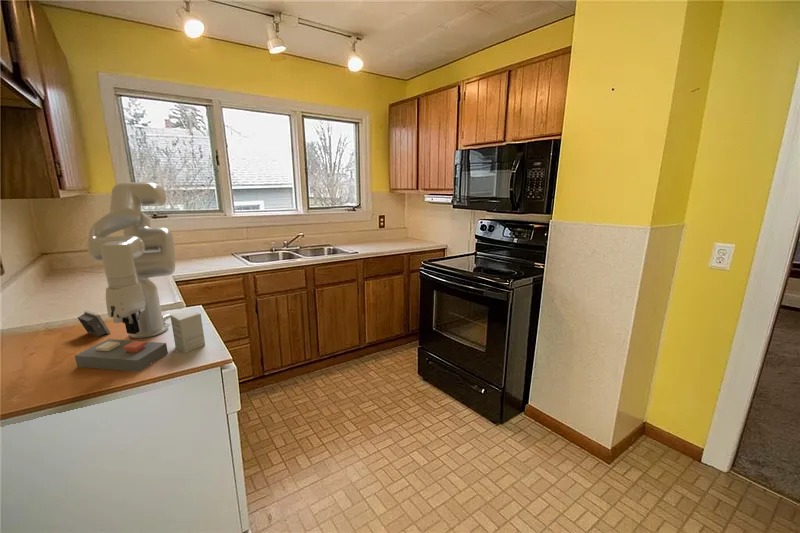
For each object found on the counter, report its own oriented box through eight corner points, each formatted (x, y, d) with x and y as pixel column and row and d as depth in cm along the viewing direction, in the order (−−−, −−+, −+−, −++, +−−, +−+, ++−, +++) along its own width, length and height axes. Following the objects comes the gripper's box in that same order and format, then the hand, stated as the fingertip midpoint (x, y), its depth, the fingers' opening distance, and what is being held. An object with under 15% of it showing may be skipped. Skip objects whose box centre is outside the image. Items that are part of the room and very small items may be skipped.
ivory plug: (110, 352, 121) (108, 341, 120) (121, 352, 120) (119, 342, 119) (98, 358, 116) (95, 347, 115) (110, 359, 116) (107, 348, 115)
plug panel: (110, 349, 125) (108, 338, 124) (167, 353, 123) (166, 342, 122) (77, 366, 113) (74, 355, 112) (139, 371, 111) (137, 360, 110)
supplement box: (195, 339, 133) (191, 308, 130) (205, 345, 129) (201, 313, 126) (174, 347, 127) (169, 314, 124) (184, 353, 123) (179, 319, 120)
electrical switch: (111, 333, 137) (104, 312, 134) (96, 340, 132) (88, 318, 129) (98, 329, 141) (90, 308, 138) (82, 335, 136) (74, 314, 133)
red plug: (136, 351, 119) (134, 340, 118) (148, 352, 119) (146, 341, 118) (125, 357, 115) (122, 346, 114) (137, 358, 115) (135, 347, 114)
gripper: (131, 272, 118) (141, 322, 123) (89, 287, 104) (102, 342, 109) (152, 274, 117) (161, 323, 123) (112, 289, 103) (124, 345, 109)
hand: (133, 332), depth 116 cm, fingers closed
